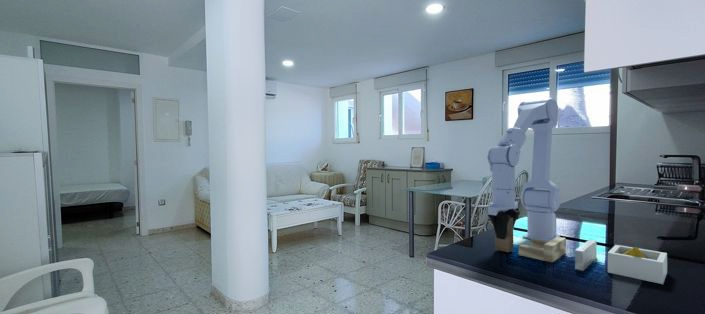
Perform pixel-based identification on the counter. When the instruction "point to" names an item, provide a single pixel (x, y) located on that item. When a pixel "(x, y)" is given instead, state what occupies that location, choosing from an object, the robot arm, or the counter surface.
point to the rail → (585, 255)
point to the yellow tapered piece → (634, 253)
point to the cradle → (544, 249)
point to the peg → (506, 239)
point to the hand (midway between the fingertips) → (504, 237)
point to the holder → (638, 264)
